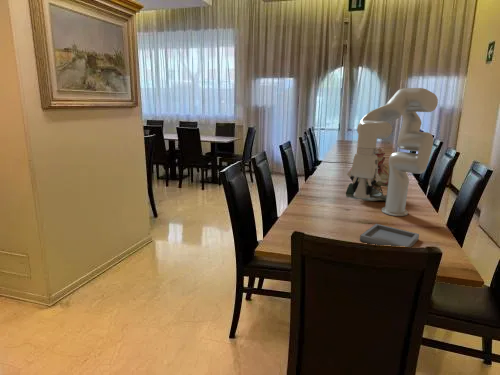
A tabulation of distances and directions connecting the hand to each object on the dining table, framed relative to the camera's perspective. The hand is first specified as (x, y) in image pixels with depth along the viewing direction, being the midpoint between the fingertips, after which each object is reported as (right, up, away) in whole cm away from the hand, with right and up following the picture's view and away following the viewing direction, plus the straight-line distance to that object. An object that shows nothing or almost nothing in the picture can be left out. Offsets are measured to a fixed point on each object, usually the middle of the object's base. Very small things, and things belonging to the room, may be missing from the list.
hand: (362, 192), depth 147 cm
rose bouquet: (+24, -3, +57) cm, 62 cm away
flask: (0, -2, +1) cm, 2 cm away
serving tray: (+9, -20, -7) cm, 23 cm away
